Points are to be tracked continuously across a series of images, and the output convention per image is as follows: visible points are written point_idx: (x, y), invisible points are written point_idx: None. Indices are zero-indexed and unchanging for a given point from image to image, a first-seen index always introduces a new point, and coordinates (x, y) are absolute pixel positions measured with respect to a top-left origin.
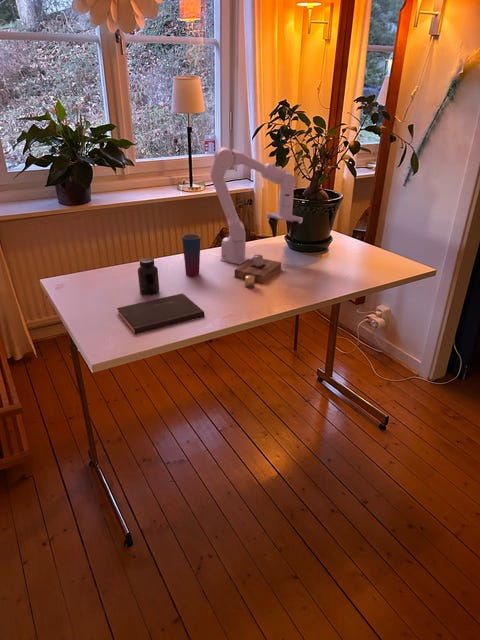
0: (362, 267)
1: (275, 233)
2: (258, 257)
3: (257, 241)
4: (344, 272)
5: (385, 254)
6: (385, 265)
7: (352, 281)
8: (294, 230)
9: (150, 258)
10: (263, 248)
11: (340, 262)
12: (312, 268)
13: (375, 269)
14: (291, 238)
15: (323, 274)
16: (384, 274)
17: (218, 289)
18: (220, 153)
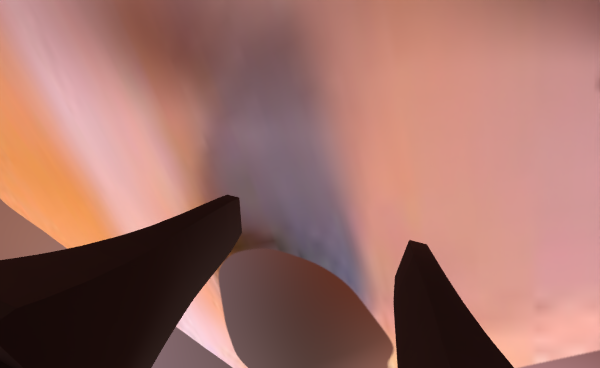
0: (80, 169)
1: (403, 287)
2: None
3: (524, 360)
4: (82, 100)
5: None
6: (60, 201)
7: (8, 8)
8: (104, 240)
9: None
10: (481, 286)
11: (143, 193)
12: (182, 92)
13: (52, 164)
14: (218, 200)
15: (113, 33)
16: (16, 132)
17: None
18: None
